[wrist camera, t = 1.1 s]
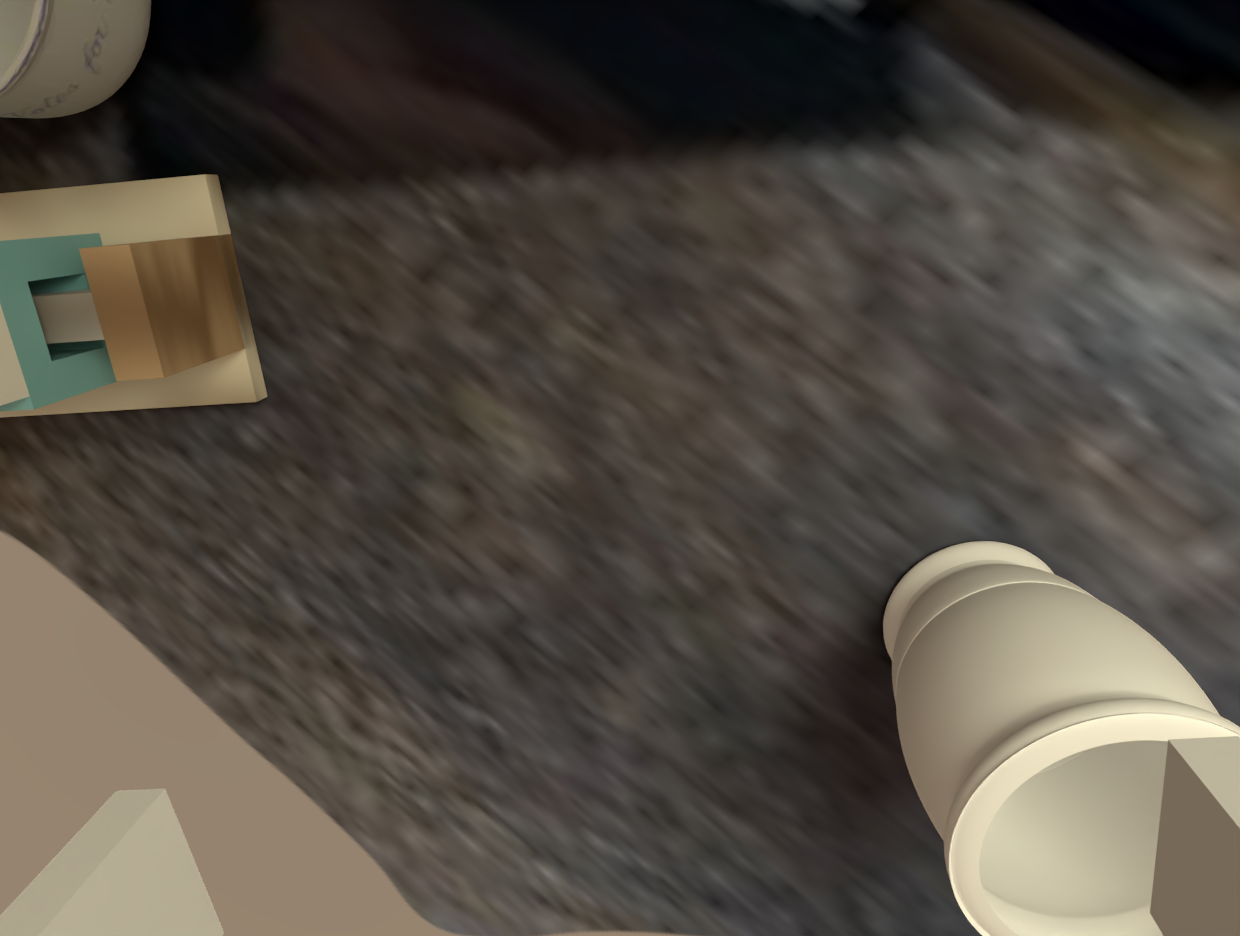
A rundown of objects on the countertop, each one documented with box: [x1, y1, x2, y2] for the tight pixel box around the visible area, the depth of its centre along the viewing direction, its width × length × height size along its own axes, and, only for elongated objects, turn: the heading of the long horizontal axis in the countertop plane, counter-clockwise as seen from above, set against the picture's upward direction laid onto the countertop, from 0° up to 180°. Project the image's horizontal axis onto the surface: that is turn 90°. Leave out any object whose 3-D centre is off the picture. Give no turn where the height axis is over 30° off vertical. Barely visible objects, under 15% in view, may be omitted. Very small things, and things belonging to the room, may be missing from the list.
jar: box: [883, 541, 1240, 936], centre depth 33 cm, size 11×10×15 cm
